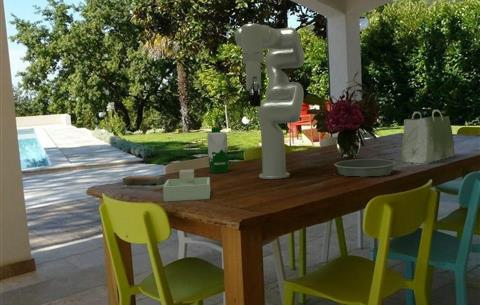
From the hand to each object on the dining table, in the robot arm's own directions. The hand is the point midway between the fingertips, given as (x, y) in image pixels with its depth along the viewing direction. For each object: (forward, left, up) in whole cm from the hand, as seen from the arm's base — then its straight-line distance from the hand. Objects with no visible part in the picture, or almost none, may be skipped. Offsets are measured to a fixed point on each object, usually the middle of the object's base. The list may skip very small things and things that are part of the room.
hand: (255, 106), depth 194 cm
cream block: (+8, -26, -29) cm, 40 cm away
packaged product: (-16, -44, -31) cm, 57 cm away
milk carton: (-44, -15, -31) cm, 56 cm away
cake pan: (-19, +45, -31) cm, 58 cm away
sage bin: (+8, -26, -30) cm, 41 cm away
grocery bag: (-46, +82, -31) cm, 99 cm away
